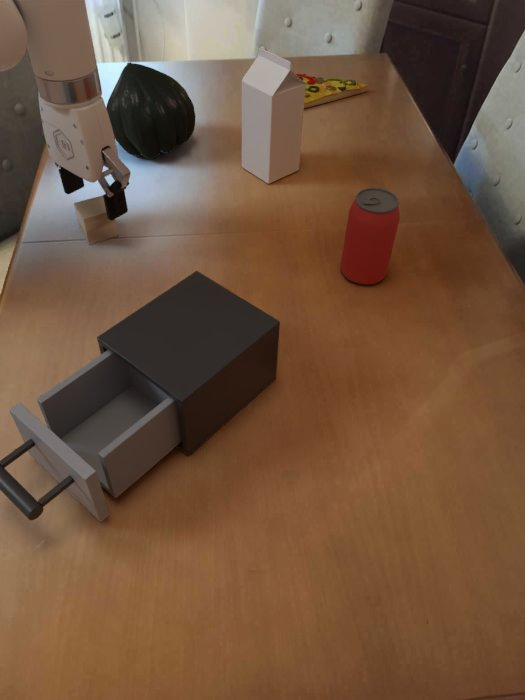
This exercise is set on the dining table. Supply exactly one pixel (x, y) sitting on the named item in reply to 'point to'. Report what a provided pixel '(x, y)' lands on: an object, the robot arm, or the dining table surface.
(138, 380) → the drawer
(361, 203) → the beer can
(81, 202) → the block
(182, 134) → the squash
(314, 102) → the pizza slice
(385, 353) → the dining table surface
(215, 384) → the cabinet
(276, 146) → the milk carton
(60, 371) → the dining table surface
